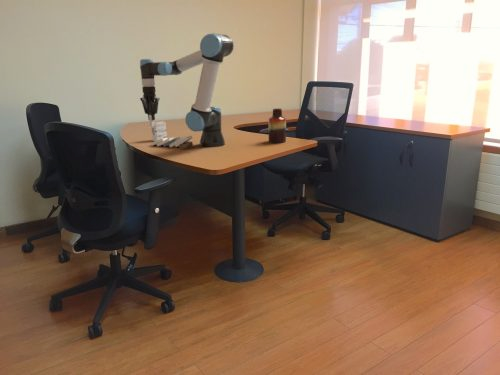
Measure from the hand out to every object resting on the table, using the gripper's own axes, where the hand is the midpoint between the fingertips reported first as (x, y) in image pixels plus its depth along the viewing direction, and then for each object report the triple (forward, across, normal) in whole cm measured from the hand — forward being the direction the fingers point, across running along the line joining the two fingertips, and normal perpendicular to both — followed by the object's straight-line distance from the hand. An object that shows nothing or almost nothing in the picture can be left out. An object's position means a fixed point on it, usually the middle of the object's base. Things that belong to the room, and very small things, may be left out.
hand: (152, 125), depth 259 cm
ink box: (+12, +6, -14) cm, 19 cm away
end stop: (+12, -25, +2) cm, 28 cm away
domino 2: (+11, -6, +2) cm, 13 cm away
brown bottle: (+13, -68, -36) cm, 78 cm away
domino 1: (+11, -1, +2) cm, 11 cm away
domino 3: (+11, -10, +2) cm, 15 cm away
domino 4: (+11, -15, +2) cm, 19 cm away
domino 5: (+11, -19, +2) cm, 22 cm away
